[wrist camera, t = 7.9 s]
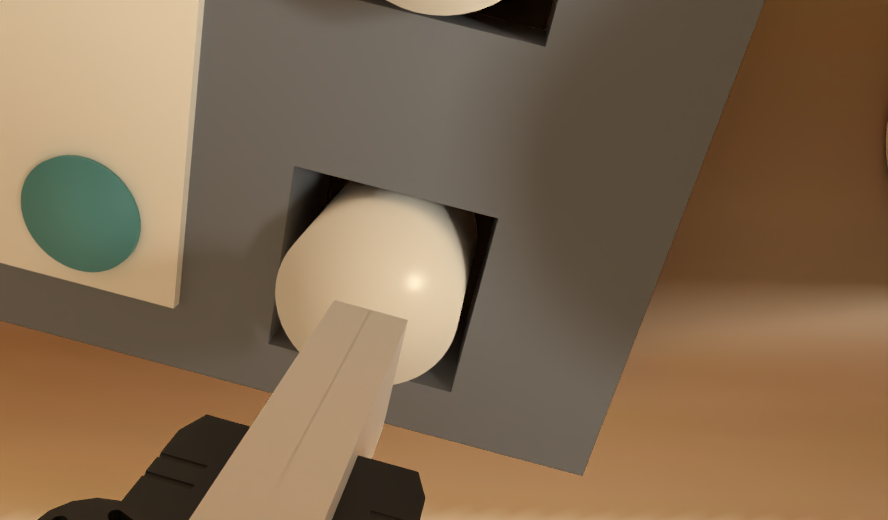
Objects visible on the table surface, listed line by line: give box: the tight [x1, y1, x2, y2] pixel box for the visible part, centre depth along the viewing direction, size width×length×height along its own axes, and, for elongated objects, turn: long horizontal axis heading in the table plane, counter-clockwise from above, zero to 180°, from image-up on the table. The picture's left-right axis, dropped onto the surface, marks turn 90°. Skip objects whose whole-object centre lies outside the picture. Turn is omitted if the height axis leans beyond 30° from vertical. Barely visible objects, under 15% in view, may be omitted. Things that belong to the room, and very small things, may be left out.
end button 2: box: [275, 180, 477, 385], centre depth 19 cm, size 4×4×5 cm
